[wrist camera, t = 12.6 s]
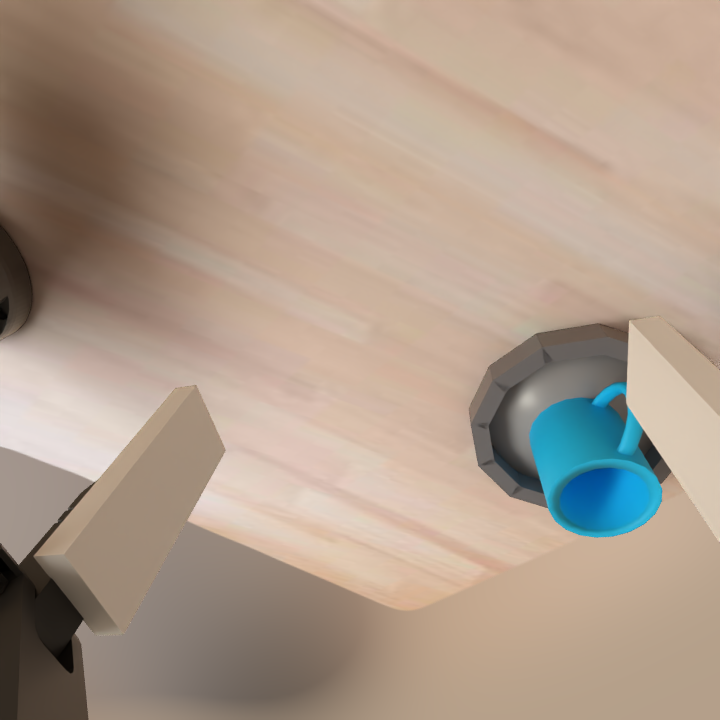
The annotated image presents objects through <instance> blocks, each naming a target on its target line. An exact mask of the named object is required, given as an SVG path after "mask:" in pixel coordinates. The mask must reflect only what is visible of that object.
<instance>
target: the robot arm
mask: <svg viewBox="0 0 720 720" xmlns="http://www.w3.org/2000/svg"><path fill="white" fill-rule="evenodd" d="M31 302H32V290H31V283H30V278H29V275H28V272H27V269H26V266H25V264H24V261H23V259H22V257H21V255H20V253H19V251H18V250H17V248H16V246H15V245H14V243H13V242H12V240H11V239H10V237H9V236H8V235H7V233H6V232H5V231H4V230H3V229H2V227H1V226H0V340H2V339H4V338H5V337H7V336H9V335H11V334H13V333H14V332H16V331H17V330H18V329H19V328H20V327H21V326H22V325H23V324H24V323H25V321H26V319H27V317H28V315H29V312H30V308H31ZM626 404H627V406H628V407H629V409H630V410H631V412H632V413H633V415H634V416H635V418H636V419H637V421H638V422H639V424H640V425H641V427H642V428H643V430H644V431H645V433H646V434H647V436H648V437H649V438H650V440H651V441H652V443H653V444H654V446H655V447H656V449H657V450H658V452H659V453H660V455H661V456H662V458H663V459H664V461H665V462H666V464H667V465H668V467H669V468H670V470H671V471H672V473H673V474H674V476H675V477H676V479H677V480H678V482H679V483H680V484H681V486H682V487H683V489H684V490H685V492H686V493H687V495H688V496H689V498H690V499H691V501H692V502H693V504H694V505H695V506H696V508H697V510H698V511H699V513H700V514H701V516H702V517H703V519H704V520H705V522H706V523H707V524H708V526H709V527H710V529H711V531H712V532H713V533H714V535H715V536H716V538H717V539H718V541H719V542H720V370H719V369H718V368H717V367H716V366H715V365H714V364H712V363H711V362H710V361H709V360H708V359H707V358H706V357H705V356H704V355H703V354H701V353H700V352H699V351H698V350H697V349H696V348H695V347H694V346H693V345H692V344H690V343H689V342H688V341H687V340H686V339H685V338H684V337H683V336H682V335H681V334H679V333H678V332H677V331H676V330H675V329H674V328H673V327H672V326H671V325H670V324H668V323H667V322H666V321H665V320H664V319H663V318H662V317H661V316H656V317H649V318H642V319H636V320H629V338H628V367H627V395H626ZM225 451H226V450H225V448H224V445H223V443H222V441H221V439H220V436H219V434H218V432H217V430H216V428H215V425H214V423H213V421H212V419H211V417H210V414H209V412H208V410H207V408H206V405H205V403H204V401H203V399H202V397H201V394H200V392H199V390H198V388H197V386H196V385H193V386H187V387H180V388H175V389H174V391H173V392H172V393H171V394H170V395H169V397H168V398H167V399H166V400H165V401H164V402H163V404H162V405H161V406H160V407H159V408H158V410H157V411H156V412H155V413H154V414H153V415H152V417H151V418H150V419H149V420H148V421H147V423H146V424H145V425H144V426H143V427H142V428H141V430H140V431H139V432H138V433H137V434H136V436H135V437H134V438H133V439H132V440H131V441H130V443H129V444H128V445H127V446H126V447H125V449H124V450H123V451H122V452H121V453H120V454H119V456H118V457H117V458H116V459H115V460H114V462H113V463H112V464H111V465H110V466H109V467H108V469H107V470H106V471H105V472H104V473H103V475H102V476H101V477H100V478H99V479H98V480H97V481H96V482H94V483H93V484H92V485H90V486H89V487H88V488H87V489H85V490H84V491H83V492H82V493H81V494H80V495H79V496H78V497H77V498H76V499H75V501H74V502H73V503H72V504H71V505H70V507H69V508H68V511H65V512H64V513H63V515H62V516H61V517H60V518H59V519H58V523H55V524H54V525H53V526H52V527H51V529H50V530H49V531H48V532H47V533H46V534H45V535H44V537H43V538H42V539H41V540H40V541H39V543H38V544H37V545H36V546H35V547H34V548H33V550H32V551H31V552H30V553H29V554H28V555H27V556H26V558H25V559H24V560H23V561H22V562H21V563H20V564H19V565H18V564H17V563H16V561H15V560H14V559H13V558H12V557H11V555H10V554H9V553H8V552H7V550H6V549H5V548H4V547H3V546H2V544H1V543H0V720H88V711H87V700H86V690H85V679H84V669H83V658H82V648H81V643H80V641H79V639H78V637H77V636H76V635H75V632H76V630H77V629H78V627H79V625H80V624H81V622H82V620H84V621H85V623H86V624H87V625H88V627H89V628H90V629H91V630H92V632H93V633H94V634H95V635H96V636H97V635H98V636H99V635H123V634H124V633H125V631H126V629H127V628H128V626H129V624H130V622H131V621H132V619H133V617H134V615H135V613H136V612H137V610H138V608H139V606H140V604H141V603H142V601H143V599H144V597H145V595H146V594H147V591H148V590H149V588H150V586H151V585H152V583H153V581H154V579H155V577H156V575H157V574H158V572H159V570H160V568H161V566H162V565H163V562H164V561H165V559H166V557H167V556H168V554H169V552H170V550H171V548H172V547H173V545H174V543H175V541H176V539H177V537H178V536H179V534H180V532H181V530H182V528H183V527H184V525H185V523H186V521H187V520H188V518H189V516H190V514H191V512H192V510H193V509H194V507H195V505H196V503H197V501H198V500H199V498H200V496H201V494H202V492H203V491H204V489H205V487H206V485H207V483H208V482H209V480H210V478H211V476H212V474H213V473H214V471H215V469H216V467H217V465H218V464H219V462H220V460H221V458H222V456H223V454H224V453H225Z"/></svg>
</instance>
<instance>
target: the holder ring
mask: <svg viewBox="0 0 720 720" xmlns="http://www.w3.org/2000/svg"><path fill="white" fill-rule="evenodd" d="M628 338H629V333H626V332H623V331H620V330H617V329H614V328H610V327H607V326H604V325H601V324H593V325H587V326H581V327H574V328H568V329H562V330H556V331H550V332H544V333H538V334H535V335H534V336H532V337H531V338H529V339H528V340H527V341H525V342H524V343H522V344H521V345H519V346H518V347H516V348H515V349H514V350H512V351H511V352H509V353H508V354H506V355H505V356H503V357H502V358H500V359H499V360H498V361H496V362H495V363H493V364H492V365H490V366H489V368H488V370H487V372H486V374H485V376H484V378H483V380H482V382H481V384H480V387H479V389H478V391H477V393H476V395H475V397H474V399H473V401H472V403H471V405H470V407H469V414H470V422H471V428H472V434H473V439H474V445H475V450H476V456H477V461H478V466H479V467H480V468H481V469H482V470H483V471H484V472H485V473H486V474H487V475H488V476H489V477H490V478H491V479H492V480H493V481H494V482H496V483H497V484H498V485H499V486H500V487H501V488H502V489H503V490H504V491H505V492H506V493H507V494H508V495H509V496H510V497H513V498H516V499H520V500H523V501H526V502H530V503H533V504H536V505H539V506H543V507H546V508H548V505H547V502H546V498H545V495H544V491H543V488H542V484H541V481H540V477H539V474H538V471H537V467H536V464H535V460H534V457H533V453H532V450H531V446H530V438H529V433H530V430H531V426H532V423H533V422H534V421H535V419H536V418H537V417H538V415H539V414H540V413H541V412H542V411H544V410H545V409H547V408H548V407H549V406H551V405H552V404H555V403H558V402H560V401H563V400H565V399H572V398H580V397H582V398H590V399H595V397H596V396H597V395H598V394H599V393H600V392H601V391H602V390H603V389H604V388H606V387H608V386H609V385H611V384H613V383H616V382H627V367H628ZM609 405H610V406H611V407H612V408H613V409H614V410H615V411H617V412H618V413H619V415H620V417H621V418H622V420H623V422H624V423H625V425H626V421H627V415H628V407H627V404H626V397H625V395H624V394H623V393H622V394H620V395H618V396H616V397H615V398H614V399H613V400H612V401H611V402H610V403H609ZM491 442H492V444H493V445H492V444H491ZM638 447H639V448H640V450H641V452H642V453H643V455H644V457H645V458H646V460H647V462H648V463H649V465H650V467H651V468H652V470H653V472H654V473H655V475H656V477H657V479H658V481H659V483H660V484H661V483H662V482H663V481H664V480H665V479H666V478H667V476H668V475H669V474H670V473H671V470H670V468H669V467H668V465H667V464H666V462H665V461H664V459H663V458H662V456H661V455H660V453H659V452H658V450H657V449H656V447H655V446H654V444H653V443H652V441H651V440H650V438H649V437H648V436H647V434H646V433H645V431H644V430H643V433H642V436H641V438H640V441H639V444H638Z"/></svg>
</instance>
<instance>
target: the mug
mask: <svg viewBox="0 0 720 720" xmlns="http://www.w3.org/2000/svg"><path fill="white" fill-rule="evenodd" d="M622 393H623V394H624V395H625V397H626V395H627V382H616V383H613V384H611V385H609V386H608V387H606V388H604V389H603V390H602V391H601V392H600V393H599V394H598V395H597V396H596V397H595V399H590V398H582V397H580V398H572V399H565V400H563V401H560V402H558V403H555V404H552V405H551V406H549V407H548V408H547V409H545V410H544V411H542V412H541V413H540V414H539V415H538V417H537V418H536V419H535V421H534V422H533V423H532V426H531V430H530V433H529V438H530V446H531V450H532V453H533V457H534V460H535V464H536V467H537V471H538V474H539V477H540V481H541V484H542V488H543V491H544V495H545V498H546V502H547V505H548V509H549V511H550V513H551V515H552V516H553V518H554V520H555V521H556V522H557V523H558V524H560V525H561V526H562V527H563V528H565V529H566V530H568V531H571V532H573V533H576V534H578V535H582V536H589V537H611V536H617V535H620V534H624V533H628V532H630V531H632V530H634V529H636V528H638V527H640V526H642V525H643V524H645V523H646V522H647V521H648V520H649V519H650V518H651V517H652V516H653V515H655V513H656V511H657V510H658V508H659V506H660V504H661V502H662V488H661V485H660V483H659V481H658V479H657V477H656V475H655V473H654V472H653V470H652V468H651V467H650V465H649V463H648V462H647V460H646V458H645V457H644V455H643V453H642V452H641V450H640V448H639V447H638V444H639V441H640V438H641V436H642V433H643V428H642V427H641V425H640V424H639V422H638V421H637V419H636V418H635V416H634V415H633V413H632V412H631V410H630V409H629V407H628V406H627V407H628V415H627V421H626V425H625V423H624V422H623V420H622V418H621V417H620V415H619V413H618V412H617V411H615V410H614V409H613V408H612V407H611V406H610V405H609V403H610V402H611V401H612V400H613V399H614V398H615V397H616V396H618V395H620V394H622Z"/></svg>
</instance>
